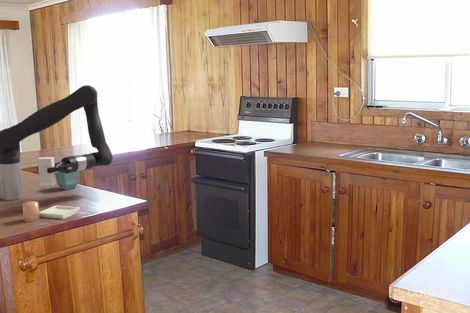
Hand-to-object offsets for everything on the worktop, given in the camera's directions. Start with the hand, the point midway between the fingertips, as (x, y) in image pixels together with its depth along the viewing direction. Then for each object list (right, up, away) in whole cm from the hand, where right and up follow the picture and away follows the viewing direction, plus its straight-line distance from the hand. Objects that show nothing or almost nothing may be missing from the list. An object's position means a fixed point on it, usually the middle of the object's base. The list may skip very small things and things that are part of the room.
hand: (42, 169), depth 218 cm
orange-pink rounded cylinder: (+1, -20, -14) cm, 24 cm away
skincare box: (+1, -7, +3) cm, 8 cm away
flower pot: (-2, -11, +40) cm, 41 cm away
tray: (+10, -19, -6) cm, 22 cm away
